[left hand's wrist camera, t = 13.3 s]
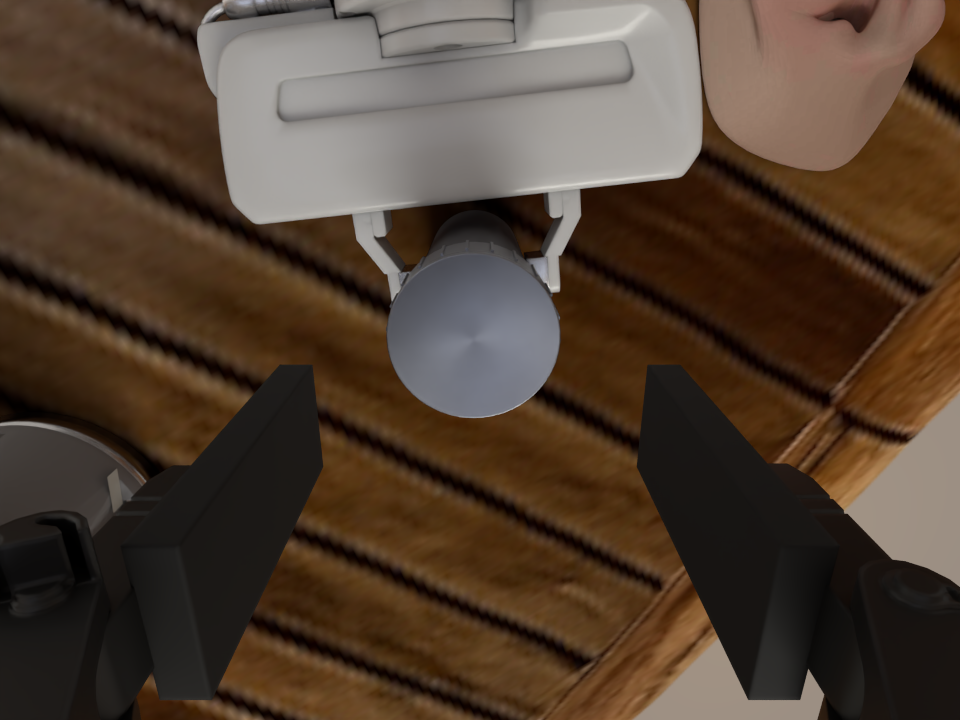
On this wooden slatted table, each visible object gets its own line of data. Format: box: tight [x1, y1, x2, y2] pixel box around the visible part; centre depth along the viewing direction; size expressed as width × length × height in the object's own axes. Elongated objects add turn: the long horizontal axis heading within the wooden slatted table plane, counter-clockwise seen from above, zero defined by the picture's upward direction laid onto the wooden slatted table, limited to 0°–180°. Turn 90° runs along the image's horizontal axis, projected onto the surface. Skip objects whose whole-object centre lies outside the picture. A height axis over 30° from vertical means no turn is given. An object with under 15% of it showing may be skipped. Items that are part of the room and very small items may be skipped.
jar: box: [426, 210, 524, 259], centre depth 27 cm, size 5×5×15 cm
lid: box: [386, 240, 560, 418], centre depth 21 cm, size 6×6×2 cm
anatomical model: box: [699, 0, 945, 171], centre depth 28 cm, size 13×4×12 cm
